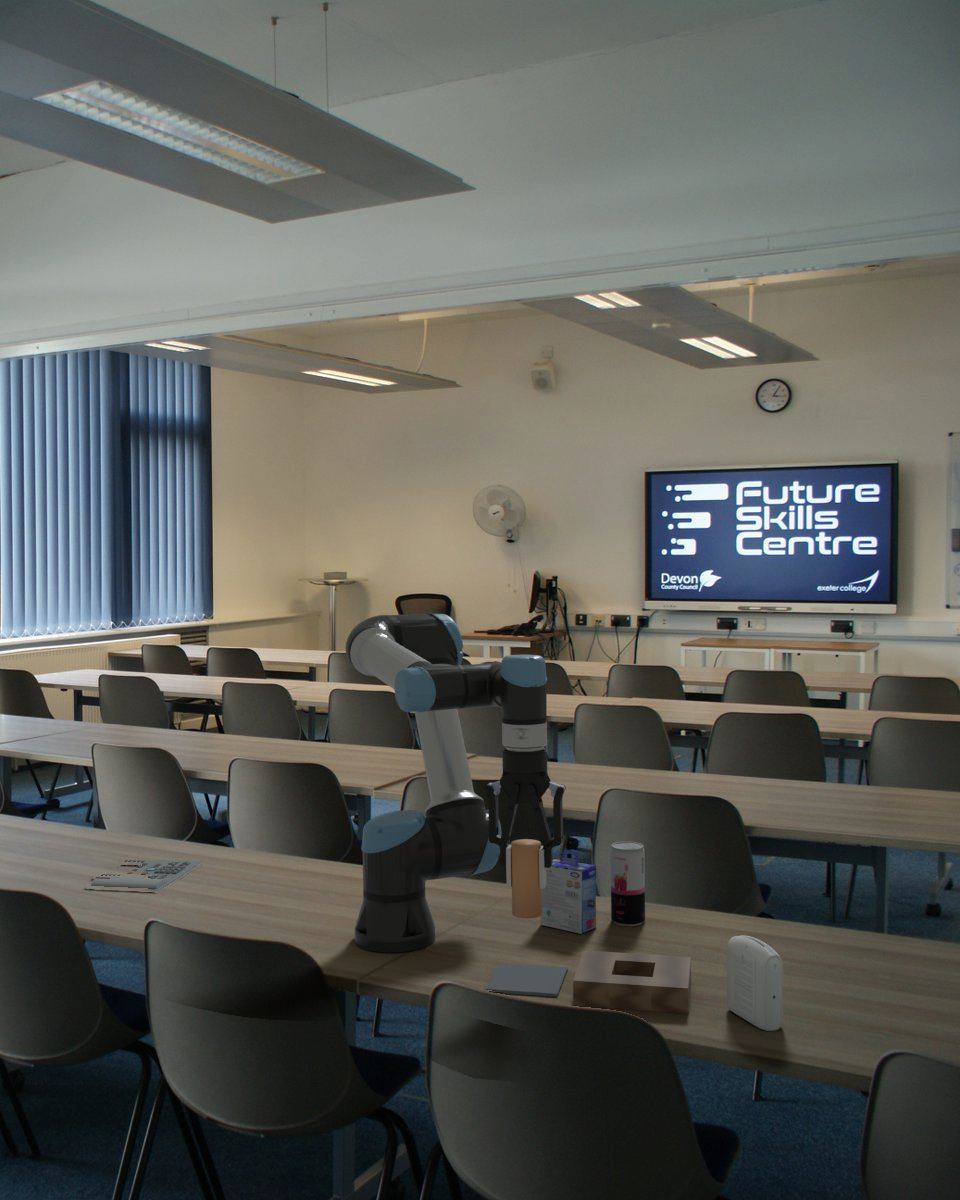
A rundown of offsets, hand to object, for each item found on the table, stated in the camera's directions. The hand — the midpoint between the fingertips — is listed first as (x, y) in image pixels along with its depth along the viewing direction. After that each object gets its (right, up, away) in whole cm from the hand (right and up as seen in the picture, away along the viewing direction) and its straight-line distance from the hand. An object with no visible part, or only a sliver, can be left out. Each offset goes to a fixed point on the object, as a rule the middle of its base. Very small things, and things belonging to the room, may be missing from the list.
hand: (526, 885), depth 190 cm
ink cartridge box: (+9, -15, +28) cm, 34 cm away
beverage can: (+21, -15, +31) cm, 40 cm away
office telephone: (-85, -16, +67) cm, 109 cm away
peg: (0, -5, 0) cm, 5 cm away
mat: (0, -16, +1) cm, 16 cm away
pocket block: (+17, -16, -5) cm, 24 cm away
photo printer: (+34, -17, -16) cm, 41 cm away
